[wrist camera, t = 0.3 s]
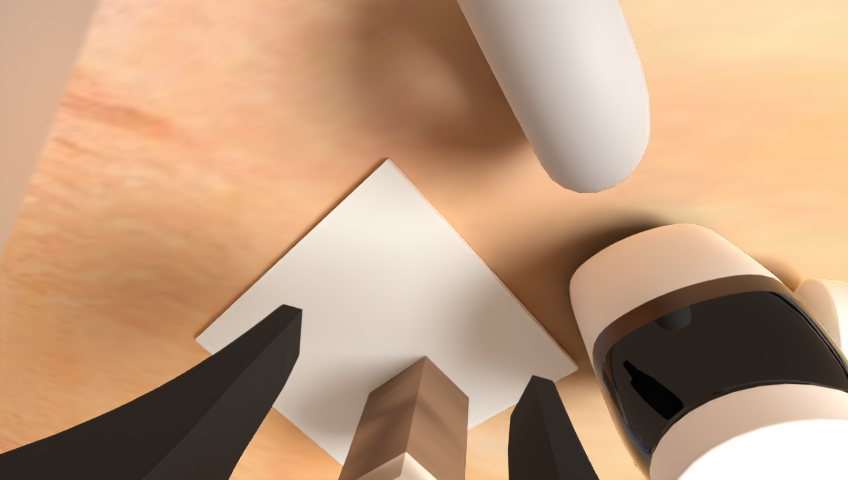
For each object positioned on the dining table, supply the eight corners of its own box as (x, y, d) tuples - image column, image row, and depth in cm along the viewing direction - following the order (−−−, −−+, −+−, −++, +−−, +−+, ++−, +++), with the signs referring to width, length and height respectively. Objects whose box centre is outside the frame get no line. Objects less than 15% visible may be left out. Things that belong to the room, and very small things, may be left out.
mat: (367, 479, 31) (365, 485, 30) (199, 335, 28) (194, 339, 27) (576, 363, 24) (578, 369, 24) (388, 157, 21) (386, 159, 21)
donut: (440, -30, 18) (390, -129, 9) (514, -85, 17) (546, -266, 7) (543, 172, 20) (589, 259, 11) (613, 135, 19) (726, 200, 10)
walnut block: (411, 431, 28) (384, 564, 20) (369, 393, 27) (325, 516, 19) (469, 397, 26) (462, 529, 18) (425, 355, 25) (400, 475, 18)
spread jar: (540, 253, 22) (590, 428, 11) (777, 145, 19) (1166, 255, 8) (627, 412, 25) (729, 665, 15) (843, 346, 22) (1185, 616, 11)
